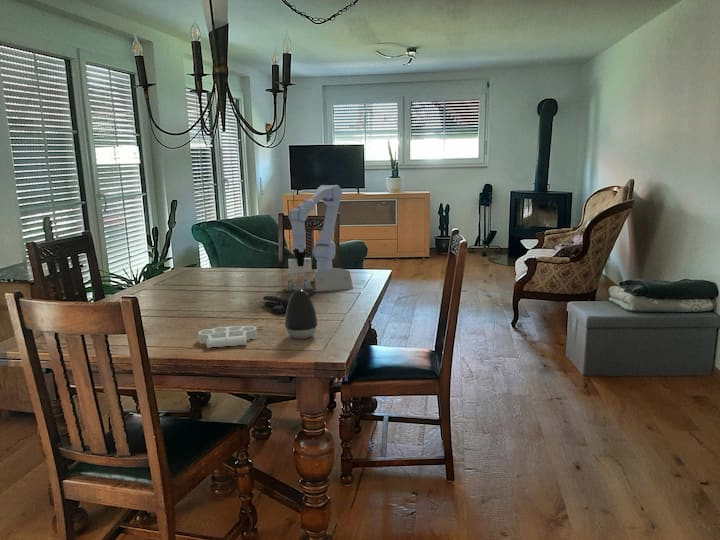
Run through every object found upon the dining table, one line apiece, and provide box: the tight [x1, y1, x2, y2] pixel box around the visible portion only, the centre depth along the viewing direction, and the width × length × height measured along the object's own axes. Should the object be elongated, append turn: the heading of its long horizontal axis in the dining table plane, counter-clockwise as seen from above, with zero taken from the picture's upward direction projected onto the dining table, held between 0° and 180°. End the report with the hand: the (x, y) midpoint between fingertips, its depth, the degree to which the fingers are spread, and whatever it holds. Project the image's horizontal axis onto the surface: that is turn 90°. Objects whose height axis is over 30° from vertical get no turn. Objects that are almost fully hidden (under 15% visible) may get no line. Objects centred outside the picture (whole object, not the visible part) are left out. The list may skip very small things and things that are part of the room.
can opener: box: [262, 295, 290, 314], centre depth 206 cm, size 18×7×6 cm, turn 36°
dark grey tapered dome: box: [284, 290, 318, 340], centre depth 172 cm, size 10×10×15 cm
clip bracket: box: [285, 278, 314, 294], centre depth 236 cm, size 7×11×4 cm, turn 103°
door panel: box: [287, 257, 313, 274], centre depth 244 cm, size 3×10×6 cm, turn 103°
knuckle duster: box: [197, 325, 258, 349], centre depth 171 cm, size 3×18×15 cm
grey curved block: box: [313, 267, 354, 292], centre depth 238 cm, size 17×5×10 cm, turn 99°
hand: (300, 265), depth 244 cm, fingers closed on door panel, 2 cm apart
